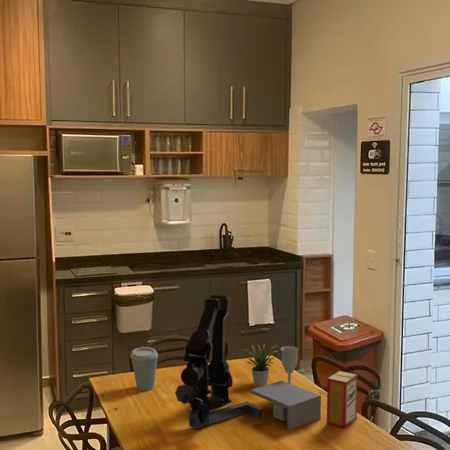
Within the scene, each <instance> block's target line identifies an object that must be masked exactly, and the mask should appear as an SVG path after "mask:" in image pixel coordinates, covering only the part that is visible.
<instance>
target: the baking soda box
mask: <svg viewBox="0 0 450 450" xmlns="http://www.w3.org/2000/svg"><path fill="white" fill-rule="evenodd" d="M358 375H359V374H358V373H357V374H356V373H352V372H347V371H342V370H339V371H338V372H336V373H334V374H333V375H331V376H329V377H327V391H326V393H327V394H326V395H327V397H326V424H327V425H329V426H330V425H331V426H335V427H338V428H342V429H346V428H347V427H348V426H350V425H351V424H352V423H354V422H355V421H356V420H357V416H358V415H357V413H358V412H357V411H358Z"/></svg>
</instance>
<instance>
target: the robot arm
mask: <svg viewBox="0 0 450 450" xmlns="http://www.w3.org/2000/svg"><path fill="white" fill-rule="evenodd" d="M232 302H233V301H232V298H231V297H230V296H229V295H228V294H213V293H212V294H211V295H210V296H207V297H205V300H204V305H203V306H204V308H203V311H202V314H201V317H200V319H199V323H198V326H197V328H196V330H195V331H193V332H192V333H191V335H190V336H189V339H188V340H187V342H186V347H185V352H184V356H183V361H184V362H187V363H186V366H185V368H184V369H182V371H181V373H180V379H181V382H182V383H183V384H180V385H178V386H177V388H176V391H175V392H174V393H175V397H176V400H177V401H178V402H180V403H181V404H183V405H187V404H189V407H190V410H195V409H200V420H201V423H204V422H205V420H206V418H207V416H208V414H209V412H211V411H214V410H218V409H221V408H224V405H225V404H227V403H228V404H229V403H231V402H232V399H230V398H229V396H230V395H229V394H230V393H229V389H230V388H231V387H233V382H234V381H233V376H232V374H231V371H230V365H229V363H228V361H227V360H226V357H225V356H226V318H227V317H228V315H229V314H230V311H231V308H232ZM211 334H212V335H211ZM211 336H212V338H211ZM209 360H210V362H209ZM209 387H210V389H209ZM208 395H210V396H208Z"/></svg>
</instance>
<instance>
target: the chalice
mask: <svg viewBox="0 0 450 450" xmlns="http://www.w3.org/2000/svg"><path fill="white" fill-rule="evenodd" d="M280 351H281V364H282V366H283V369H284V371H285V373H287V374H288V375H287V377H286V378H287V383H289V384H292V382H291V379H292V375H291V374H292V373H294V371H295V370H296V369H295V368H296V367H297V364H298V352H299V347H297V346H292V345H290V346H289V345H287V346H282V347H281V348H280Z"/></svg>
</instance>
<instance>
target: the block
mask: <svg viewBox="0 0 450 450" xmlns="http://www.w3.org/2000/svg"><path fill="white" fill-rule="evenodd" d="M287 411H288V409H287V408H285V407H282V406H280V405H277V404H275V403H273V402H272V417H274V418H276V419H278V418H279V419H278V420H281V421H287Z"/></svg>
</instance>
